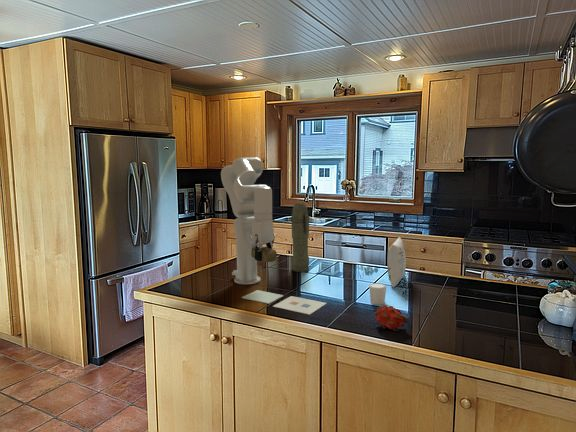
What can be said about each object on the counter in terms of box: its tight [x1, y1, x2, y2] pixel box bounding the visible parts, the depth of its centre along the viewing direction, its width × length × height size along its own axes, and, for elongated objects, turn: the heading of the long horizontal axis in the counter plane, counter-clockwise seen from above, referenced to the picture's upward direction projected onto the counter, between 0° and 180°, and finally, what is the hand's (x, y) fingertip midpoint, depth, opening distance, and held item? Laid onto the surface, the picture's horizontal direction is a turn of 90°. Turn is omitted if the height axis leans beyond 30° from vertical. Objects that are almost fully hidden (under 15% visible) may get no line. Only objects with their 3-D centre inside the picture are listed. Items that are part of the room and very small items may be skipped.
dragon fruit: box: [374, 304, 409, 332], centre depth 143 cm, size 8×8×12 cm
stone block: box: [251, 245, 278, 263], centre depth 174 cm, size 6×12×5 cm, turn 42°
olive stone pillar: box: [290, 202, 310, 273], centre depth 216 cm, size 9×12×35 cm
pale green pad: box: [241, 289, 284, 305], centre depth 177 cm, size 14×11×1 cm
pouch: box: [386, 236, 407, 289], centre depth 194 cm, size 8×19×20 cm, turn 152°
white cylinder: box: [368, 282, 387, 305], centre depth 168 cm, size 7×7×7 cm
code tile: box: [272, 295, 327, 316], centre depth 167 cm, size 17×14×1 cm
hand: (263, 258), depth 174 cm, fingers closed on stone block, 7 cm apart
